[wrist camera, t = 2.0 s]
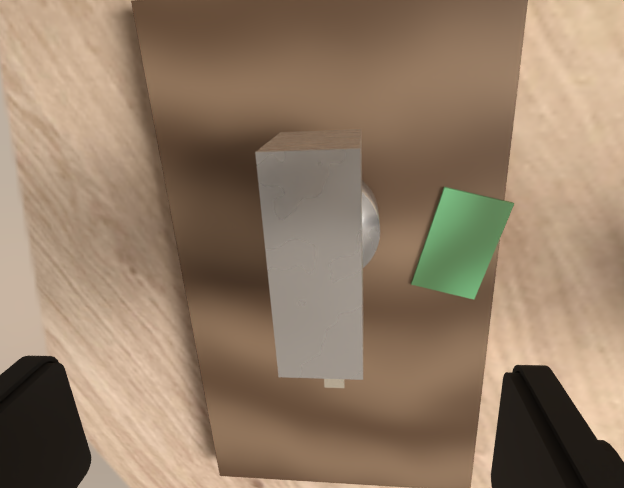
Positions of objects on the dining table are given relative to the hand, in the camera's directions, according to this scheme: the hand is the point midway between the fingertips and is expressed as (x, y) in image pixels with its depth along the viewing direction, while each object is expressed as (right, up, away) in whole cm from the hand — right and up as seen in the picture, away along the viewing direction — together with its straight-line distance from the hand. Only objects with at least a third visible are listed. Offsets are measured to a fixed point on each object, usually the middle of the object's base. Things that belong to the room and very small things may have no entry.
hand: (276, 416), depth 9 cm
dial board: (+2, +2, +13) cm, 14 cm away
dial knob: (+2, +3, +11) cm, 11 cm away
